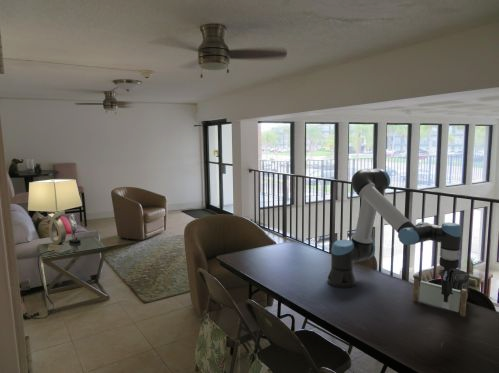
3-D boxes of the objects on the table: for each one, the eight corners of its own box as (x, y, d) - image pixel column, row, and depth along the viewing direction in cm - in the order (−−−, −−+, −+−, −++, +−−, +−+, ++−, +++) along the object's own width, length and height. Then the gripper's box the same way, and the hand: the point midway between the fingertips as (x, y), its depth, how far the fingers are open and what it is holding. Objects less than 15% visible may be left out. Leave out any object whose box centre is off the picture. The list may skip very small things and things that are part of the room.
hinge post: (410, 300, 173) (412, 276, 171) (413, 298, 175) (414, 274, 174) (417, 302, 171) (418, 277, 169) (419, 300, 173) (421, 276, 171)
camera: (455, 306, 167) (457, 276, 165) (438, 297, 177) (439, 268, 175) (472, 303, 169) (475, 274, 167) (454, 294, 179) (456, 266, 178)
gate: (419, 300, 171) (420, 281, 170) (420, 299, 172) (421, 280, 171) (458, 312, 159) (459, 291, 158) (459, 310, 160) (460, 290, 159)
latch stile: (459, 315, 159) (461, 289, 157) (461, 313, 160) (463, 288, 159) (464, 316, 157) (466, 291, 156) (465, 314, 159) (467, 289, 158)
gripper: (454, 263, 148) (451, 315, 151) (462, 256, 157) (459, 305, 160) (435, 259, 153) (432, 310, 156) (444, 252, 162) (441, 300, 165)
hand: (445, 307), depth 158 cm, fingers closed
